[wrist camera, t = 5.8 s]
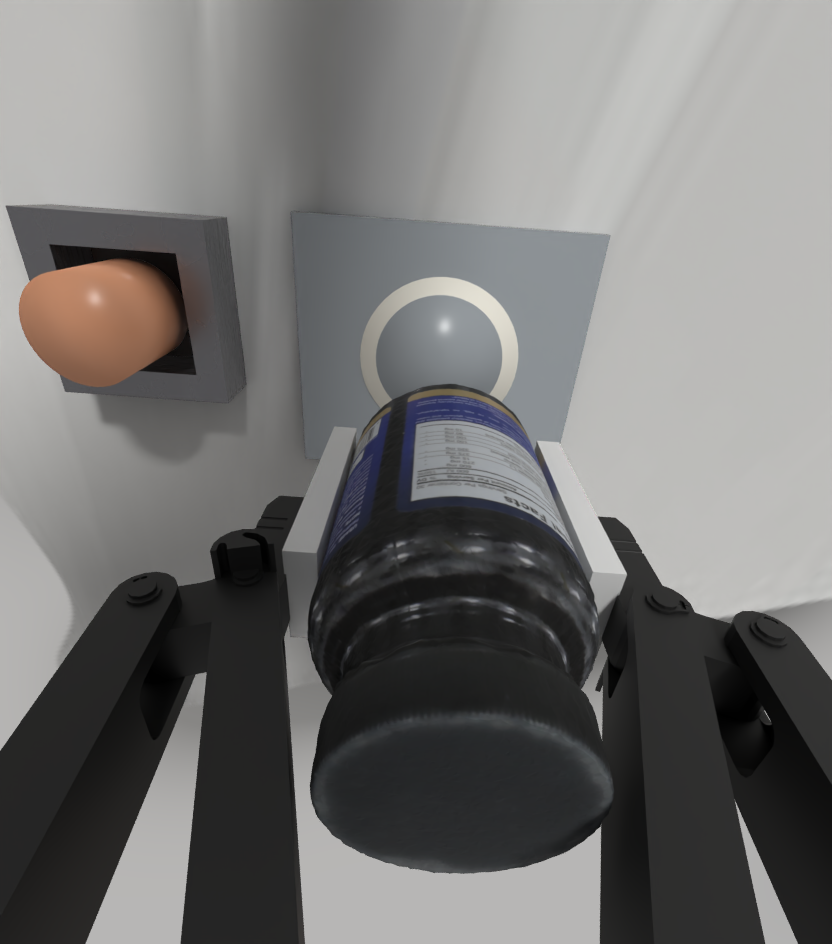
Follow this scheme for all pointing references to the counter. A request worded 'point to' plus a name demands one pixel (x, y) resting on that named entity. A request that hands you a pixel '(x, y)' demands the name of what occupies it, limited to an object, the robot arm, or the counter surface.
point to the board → (438, 316)
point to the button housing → (202, 280)
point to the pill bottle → (454, 648)
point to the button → (103, 319)
